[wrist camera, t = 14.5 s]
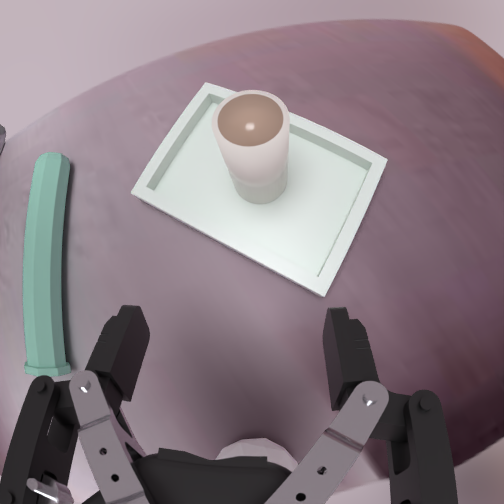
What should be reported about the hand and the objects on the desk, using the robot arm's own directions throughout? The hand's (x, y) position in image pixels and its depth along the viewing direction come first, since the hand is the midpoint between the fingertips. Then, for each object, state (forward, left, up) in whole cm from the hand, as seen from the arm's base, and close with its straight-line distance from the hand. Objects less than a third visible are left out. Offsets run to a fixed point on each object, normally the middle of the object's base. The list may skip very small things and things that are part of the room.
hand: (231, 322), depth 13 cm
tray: (-5, +11, -15) cm, 19 cm away
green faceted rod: (-23, -7, -15) cm, 28 cm away
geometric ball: (+8, -13, -15) cm, 22 cm away
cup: (-5, +10, -14) cm, 18 cm away
